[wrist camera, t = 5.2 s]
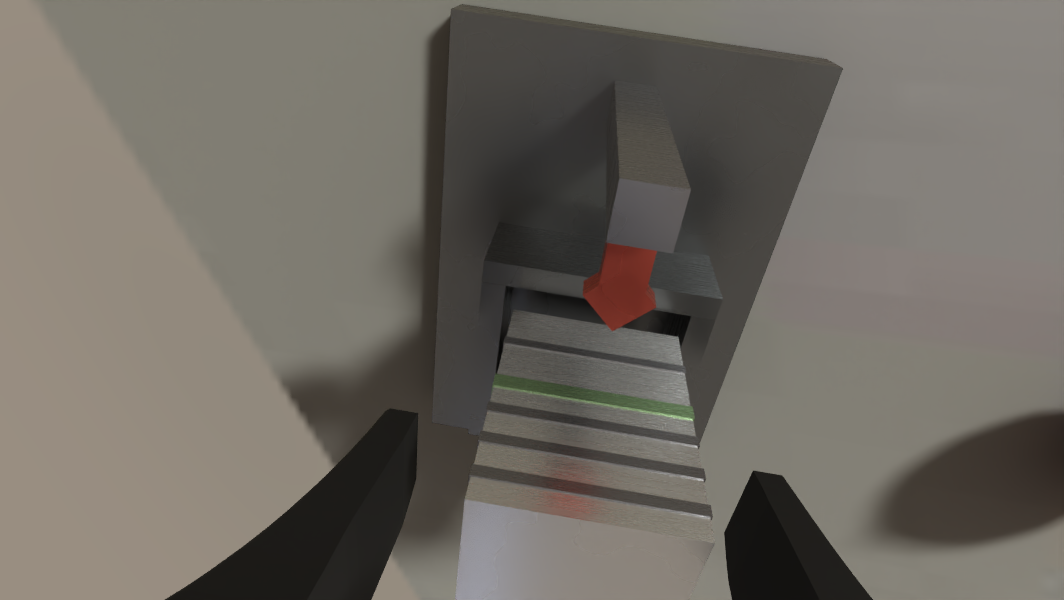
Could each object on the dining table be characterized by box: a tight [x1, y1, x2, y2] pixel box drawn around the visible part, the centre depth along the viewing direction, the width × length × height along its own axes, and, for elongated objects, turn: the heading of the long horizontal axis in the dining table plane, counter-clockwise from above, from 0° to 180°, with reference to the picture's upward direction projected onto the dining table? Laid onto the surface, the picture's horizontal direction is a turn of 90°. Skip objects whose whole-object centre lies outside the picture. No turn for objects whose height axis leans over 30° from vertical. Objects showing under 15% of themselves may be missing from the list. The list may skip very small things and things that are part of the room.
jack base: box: [432, 4, 843, 443], centre depth 14 cm, size 13×9×8 cm
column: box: [455, 310, 715, 600], centre depth 13 cm, size 4×4×6 cm
